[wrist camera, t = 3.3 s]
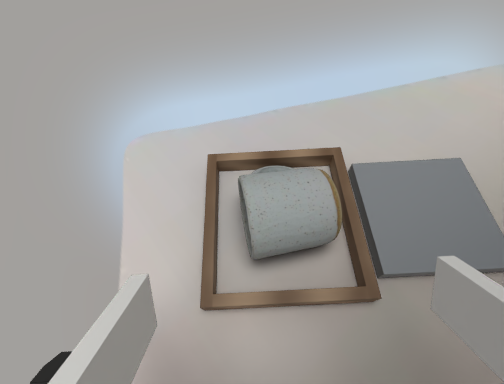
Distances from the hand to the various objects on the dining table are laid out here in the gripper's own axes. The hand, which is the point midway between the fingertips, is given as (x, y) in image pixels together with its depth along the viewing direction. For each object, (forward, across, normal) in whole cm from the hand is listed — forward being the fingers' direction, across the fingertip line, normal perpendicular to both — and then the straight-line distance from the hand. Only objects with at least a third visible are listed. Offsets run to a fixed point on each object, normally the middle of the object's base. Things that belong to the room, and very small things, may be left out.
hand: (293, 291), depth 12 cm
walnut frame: (+15, +1, -3) cm, 16 cm away
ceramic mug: (+16, +1, -2) cm, 16 cm away
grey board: (+15, +16, -3) cm, 22 cm away
